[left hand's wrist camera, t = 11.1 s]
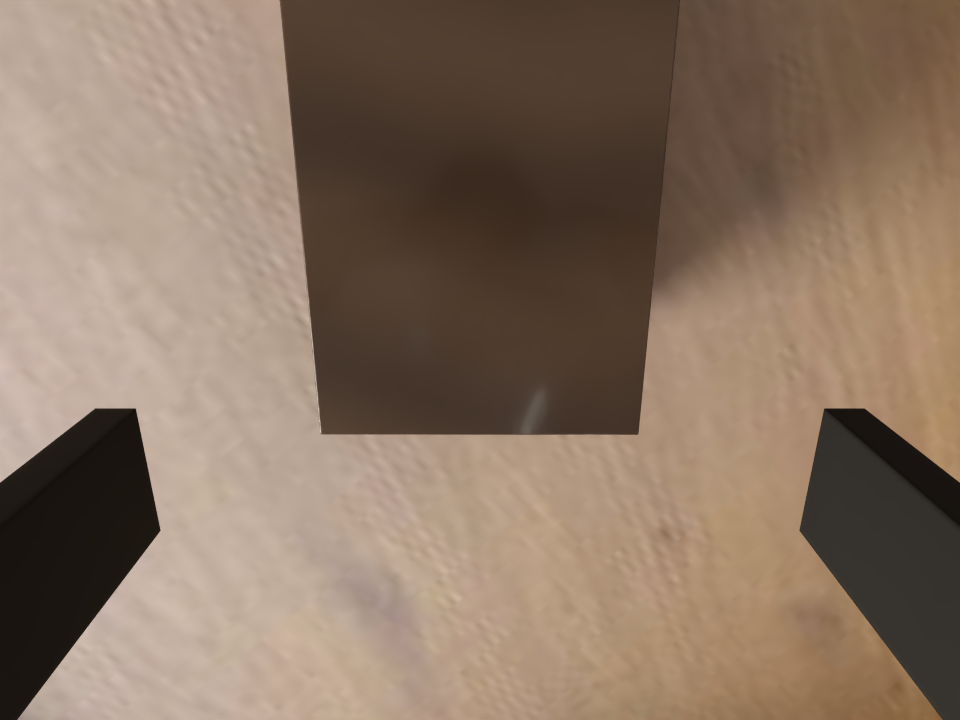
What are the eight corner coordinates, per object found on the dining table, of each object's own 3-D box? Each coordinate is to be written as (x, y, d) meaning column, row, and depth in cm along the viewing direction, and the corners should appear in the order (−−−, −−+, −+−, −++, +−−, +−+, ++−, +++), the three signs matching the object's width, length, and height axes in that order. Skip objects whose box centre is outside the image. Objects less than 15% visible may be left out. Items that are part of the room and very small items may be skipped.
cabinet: (342, -93, 24) (259, -218, 15) (617, -93, 24) (701, -217, 15) (369, 335, 30) (320, 435, 21) (590, 335, 30) (638, 435, 21)
